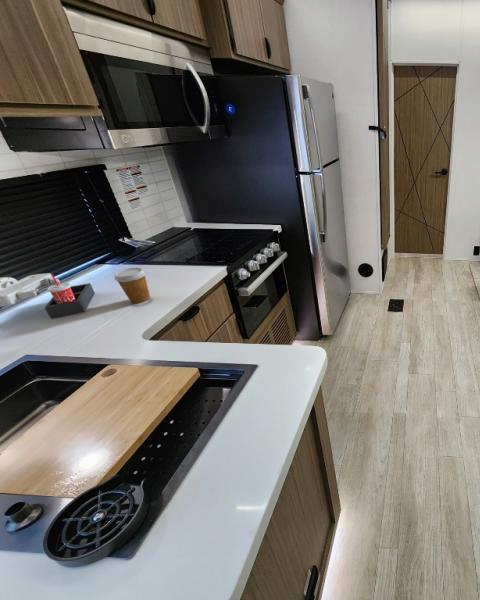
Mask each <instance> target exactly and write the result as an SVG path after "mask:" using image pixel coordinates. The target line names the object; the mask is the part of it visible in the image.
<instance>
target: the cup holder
mask: <svg viewBox="0 0 480 600" xmlns="http://www.w3.org/2000/svg"><path fill="white" fill-rule="evenodd" d="M70 288H71V290H72V292H73V295H74V297H75V299H76V301H72V302H67V303H62V304H58V303H57V301H56V300H55V299H54V297H53V296H52V298H51V299H50V300H49V301H48V302H47V304H45V306H44V310H45V311H46V313H47V314H48V316H49V318H50V319H51V320H53V319H57V318H61V317H67V316H72V315H76V314H81V313H85V312H86V310H87V309H88V307H89V305H90V303H91V302H92V300H93V298H94V296H95V295H96V292H95V290H94V288H93V286H92V284H91V283H90V282H88V283H83V284H76V285H70Z"/></svg>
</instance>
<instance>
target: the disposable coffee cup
mask: <svg viewBox="0 0 480 600" xmlns="http://www.w3.org/2000/svg"><path fill="white" fill-rule="evenodd" d="M114 280H115V281H116V282H117V283H118V284H119V286H120V288H121V289H122V291H123V292H124V294H125V295H126V296H127V298H128V299H129V301H130V303H131V304H141V303H145V302H147V301H149V300H150V299H151V295H150V291H149V287H148V283H147V282H148V281H147V279H146V271H145V270H144V269H143V268H141V267H130V268H126V269H122V270H119V271H117V272H116V273H115V274H114Z"/></svg>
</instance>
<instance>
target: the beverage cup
mask: <svg viewBox="0 0 480 600" xmlns="http://www.w3.org/2000/svg"><path fill="white" fill-rule="evenodd" d="M50 274H51V276H52V277H53V279H54V281H55V283H56V285H49V286H47V288H46V290H47V291H48V292H49V293H50V294H51V295H52V298H53V297H54V299H55V300H56V301H57V303H58V304H62V303H67V302H72V301H76V299H75V297H74V295H73V292H72V290H71V288H70V287H71V284H70V283H69V282H62V283H61V282H60V283H59V284H58V283H57V281H56V279H57V278H55V276H54V274H53V273H50Z"/></svg>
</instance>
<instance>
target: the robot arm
mask: <svg viewBox="0 0 480 600" xmlns="http://www.w3.org/2000/svg"><path fill="white" fill-rule="evenodd" d="M51 274H52V273H50V272H47V273H36V274H32V275H27V276H25V277H23V278H21V279H19V280H18V279H16V278H14V277H10V276H6V277H0V308H2V307H8V306H12V305H14V304H16V303H19V302H20V301H22V300H24V299H27V298H32V297H37V296H38V295H40V292H39V291H41V290H43V289H45V288H46V287H47V288H48V287H49V286H53V285H56V283H55V281H54V279H53V277H52V276H51ZM55 279H56V281H57V283H58V284H61V281H60V280H59V279H58V278H55Z"/></svg>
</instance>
